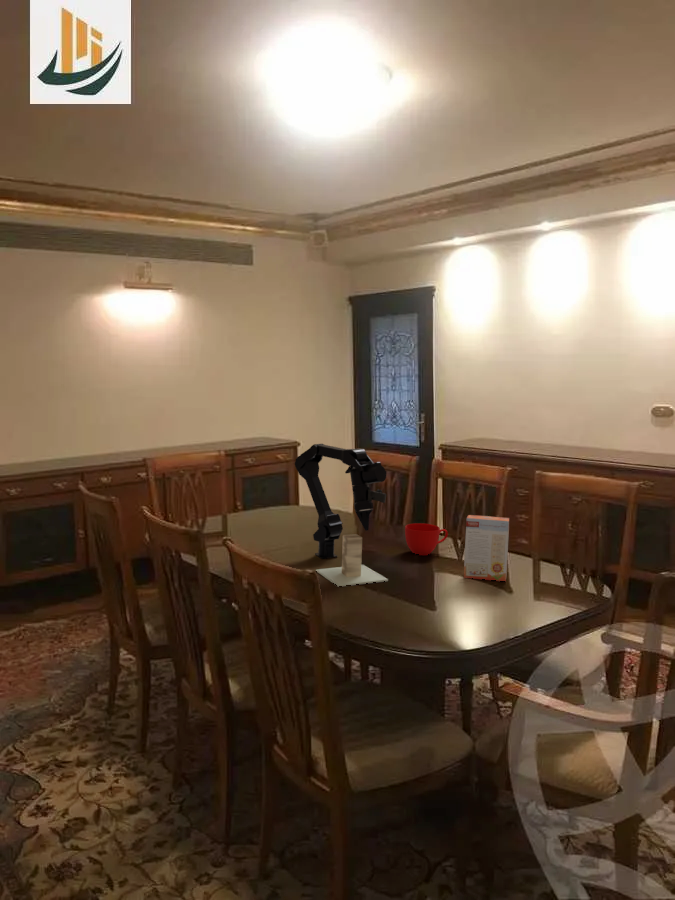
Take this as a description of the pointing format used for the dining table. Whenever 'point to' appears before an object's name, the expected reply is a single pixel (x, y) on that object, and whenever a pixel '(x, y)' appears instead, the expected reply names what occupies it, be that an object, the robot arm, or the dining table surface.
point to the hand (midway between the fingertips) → (366, 529)
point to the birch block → (351, 555)
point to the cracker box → (486, 547)
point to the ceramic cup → (423, 537)
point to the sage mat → (342, 580)
